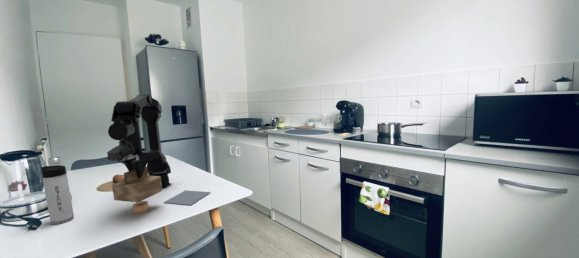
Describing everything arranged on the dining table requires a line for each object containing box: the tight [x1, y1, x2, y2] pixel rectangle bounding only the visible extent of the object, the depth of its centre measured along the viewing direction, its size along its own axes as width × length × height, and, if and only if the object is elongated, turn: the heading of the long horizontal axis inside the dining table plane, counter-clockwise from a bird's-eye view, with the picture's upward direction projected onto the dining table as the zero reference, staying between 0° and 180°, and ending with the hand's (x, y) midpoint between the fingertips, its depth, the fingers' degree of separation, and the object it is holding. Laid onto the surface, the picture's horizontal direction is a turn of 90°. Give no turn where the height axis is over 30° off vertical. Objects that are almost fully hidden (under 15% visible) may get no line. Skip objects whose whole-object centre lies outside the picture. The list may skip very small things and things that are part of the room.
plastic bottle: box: [47, 156, 73, 202], centre depth 104 cm, size 6×7×20 cm
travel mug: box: [40, 165, 75, 225], centre depth 90 cm, size 6×7×20 cm
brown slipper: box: [112, 174, 124, 184], centre depth 130 cm, size 18×7×7 cm
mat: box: [163, 190, 211, 207], centre depth 106 cm, size 13×13×1 cm
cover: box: [111, 166, 163, 203], centre depth 94 cm, size 11×11×10 cm
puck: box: [131, 200, 149, 215], centre depth 96 cm, size 5×5×3 cm
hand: (136, 177), depth 94 cm, fingers closed on cover, 2 cm apart
